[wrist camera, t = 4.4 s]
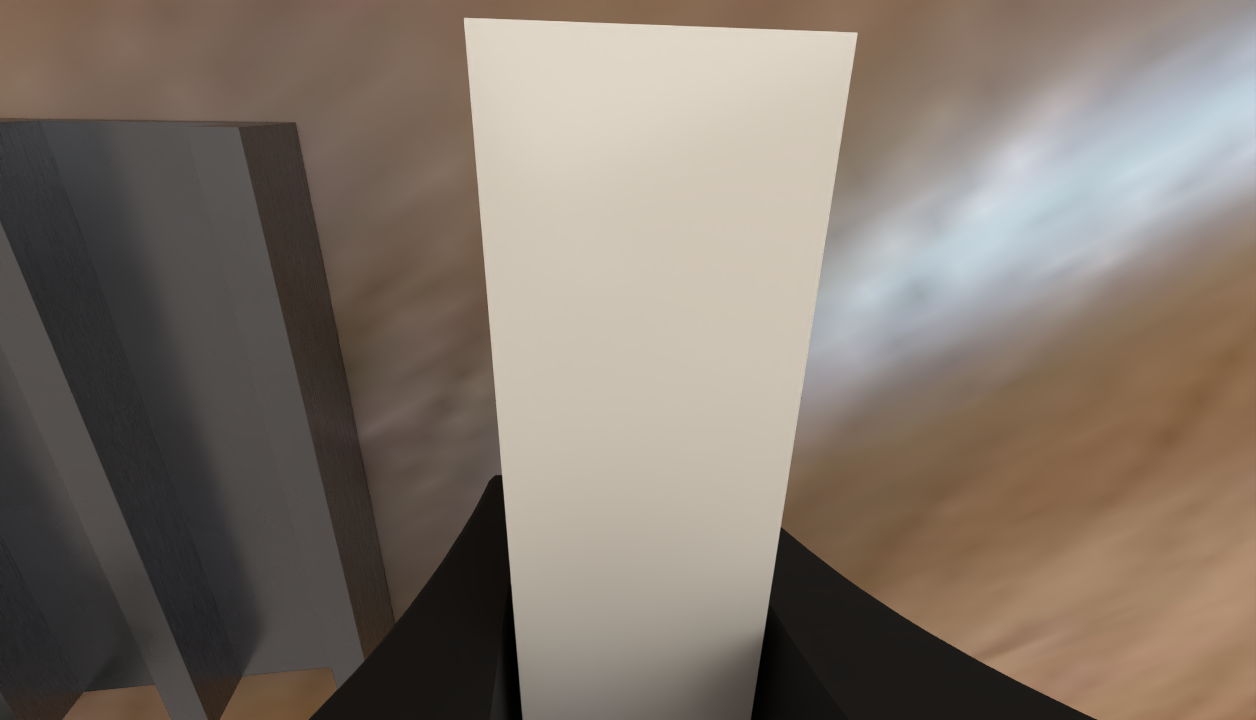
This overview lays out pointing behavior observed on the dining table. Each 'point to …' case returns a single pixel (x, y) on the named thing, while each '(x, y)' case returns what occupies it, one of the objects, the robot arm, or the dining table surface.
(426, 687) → the robot arm
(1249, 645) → the dining table surface
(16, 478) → the grey grooved block
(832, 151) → the clay strip
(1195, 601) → the dining table surface
